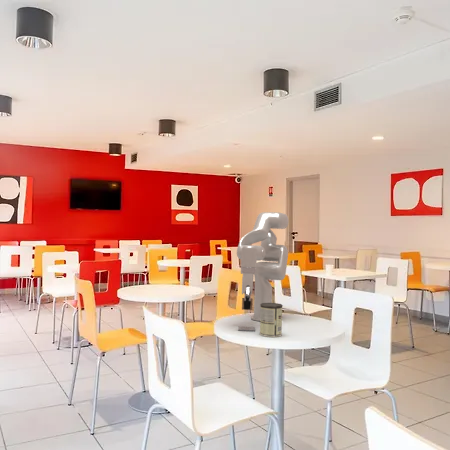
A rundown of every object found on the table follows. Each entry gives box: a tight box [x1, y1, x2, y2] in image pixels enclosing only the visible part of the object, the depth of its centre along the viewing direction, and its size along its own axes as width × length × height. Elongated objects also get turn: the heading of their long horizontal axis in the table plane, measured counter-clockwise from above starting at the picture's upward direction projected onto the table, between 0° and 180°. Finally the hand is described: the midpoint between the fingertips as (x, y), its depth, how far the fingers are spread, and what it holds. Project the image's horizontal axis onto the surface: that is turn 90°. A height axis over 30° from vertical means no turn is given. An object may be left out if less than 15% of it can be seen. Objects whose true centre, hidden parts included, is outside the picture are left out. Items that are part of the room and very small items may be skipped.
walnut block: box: [241, 297, 254, 311], centre depth 218 cm, size 5×5×5 cm
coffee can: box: [259, 302, 284, 338], centre depth 208 cm, size 10×10×14 cm
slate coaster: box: [238, 325, 256, 332], centre depth 218 cm, size 8×8×1 cm
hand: (246, 308), depth 217 cm, fingers closed on walnut block, 5 cm apart
